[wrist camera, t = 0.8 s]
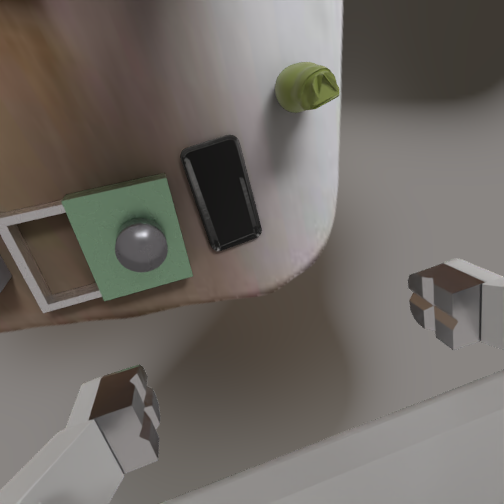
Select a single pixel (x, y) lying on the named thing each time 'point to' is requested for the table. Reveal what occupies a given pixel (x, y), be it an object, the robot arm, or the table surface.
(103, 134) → the table surface
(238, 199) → the phone
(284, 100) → the pear
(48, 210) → the multicoloured piece
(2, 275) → the grey rectangular cuboid
